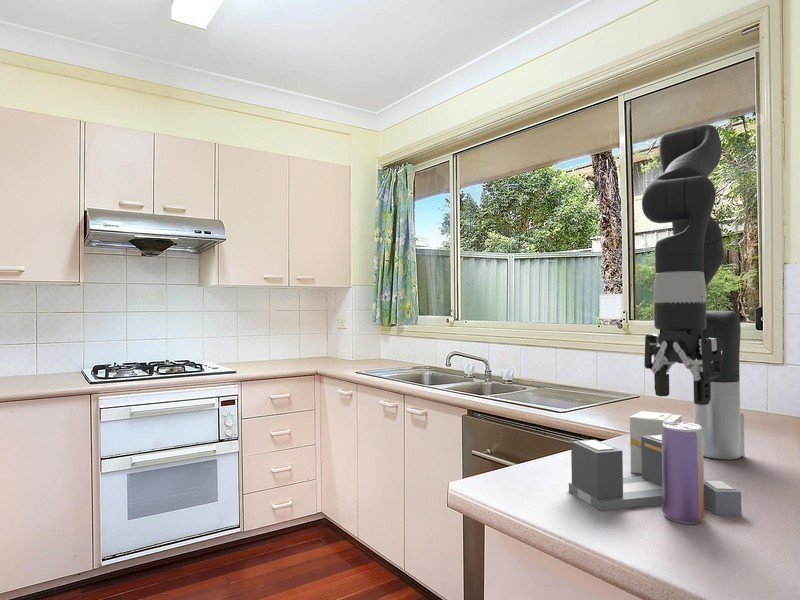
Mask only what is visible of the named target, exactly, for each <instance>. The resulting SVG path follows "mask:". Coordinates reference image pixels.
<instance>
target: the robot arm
mask: <svg viewBox="0 0 800 600" xmlns="http://www.w3.org/2000/svg"><path fill="white" fill-rule="evenodd" d="M658 153H659V161H660V165H661V171H662V174H661V175H658V176H657V177H656V178H654V179H652V180H651V181H650V182H649V183H648V185H647V186H646V187H645V190H644V192H643V194H642V199H641V209H642V212H643V214H644V216H645V217H646V218H647V219H648V221H650V222H653V223H655V224H667V223H669V224H670V223H671V227H672V235H669V236H665V237H663V238H660V239H658V240H657V241H656V243H655V249H654V257H655V258H654V261H655V262H654V263H655V264H654V267H655V274H654V275H655V277H654V285H653V297H654V298H653V302H654V303H653V305H654V306H653V309H654V310H653V311H654V313H653V314H654V315H653V316H654V317H653V320H654V323H653V325H654V328H655V329H656V330H659V334H658V333H657V334H655V333H654V334H653V333H651V334H646V335H645V337H644V367H645V369H649V370H651V372H652V374H654V375H653V376H654V391H655V395H656V396H657V397H668V396H669V395H670V374H669V373H668V372H669V370H670V369H671V368H672V366H673V365H674V364H676V363H678V364H683V365H684V367H685V368H686V369H688V370H689V371H690V372H691V375H692V377H693V378H692V380H693V385H692V386H693V424H695V425H699V426H701V428H702V429H701V430H702V433H703V457H706V458H710V459H711V458H712V459H718V460H738V459H740V458H742V457H745V416H744V414H743V413H741V394H740V393H741V388H740V387H741V383H740V380H741V379H740V376H741V375H740V354H741V353H740V352H741V349H740V348H741V333H742V332H741V320H740V316H739V315H738V313H737V312H736V311H734V310H707V288H708V286H709V284H710V282H711V281H712V279H713V278H714V277H715V275H716V274H717V273H718V271H719V269H720V267H721V265H722V263H723V261H724V257H725V256H724V255H725V251H724V250H725V249H724V245H723V243H724V242H723V234H722V229H721V226H720V225H719V223H718V222H717V220H715V218H714V217H713V216H712V213H713V209H714V206H715V203H716V198H717V197H716V196H717V193H716V187H715V185H714V183H713V182H712V180H710V178H709V176H710V174H711V173H712V172H714V170H715V169H716V168H717V167H718V166H719V163H720V161H721V157H722V143H721V137H720V134H719V131H718V129H717V127H716V126H714V125H712V124H700V125H696V126H693V127H688V128H687V127H686V128H684V129H679V130H674V131H670V132H667V133H664V134H663V135H661V137H660V140H659V143H658ZM652 356H653V357H652ZM652 358H653V360H652Z"/></svg>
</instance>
